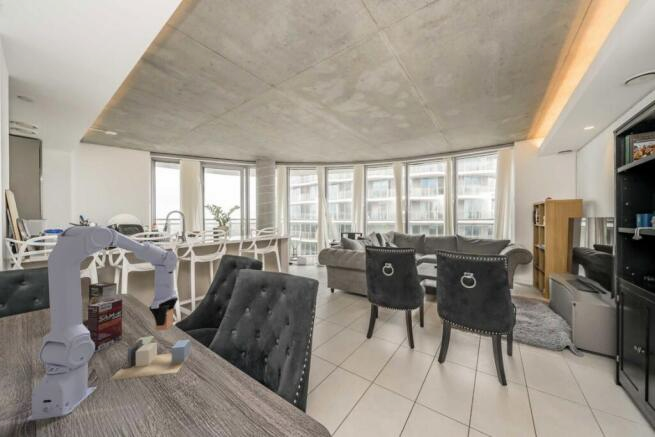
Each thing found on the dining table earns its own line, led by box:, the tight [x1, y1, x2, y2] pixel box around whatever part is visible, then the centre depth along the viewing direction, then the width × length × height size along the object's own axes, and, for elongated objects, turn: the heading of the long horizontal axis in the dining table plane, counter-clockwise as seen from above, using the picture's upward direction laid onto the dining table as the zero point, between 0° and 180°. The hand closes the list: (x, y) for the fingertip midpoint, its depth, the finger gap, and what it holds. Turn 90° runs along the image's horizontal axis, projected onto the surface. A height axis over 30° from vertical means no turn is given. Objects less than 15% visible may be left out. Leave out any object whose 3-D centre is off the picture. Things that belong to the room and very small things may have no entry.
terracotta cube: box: [154, 309, 174, 331], centre depth 89 cm, size 5×4×6 cm
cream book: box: [136, 342, 158, 366], centre depth 78 cm, size 5×4×4 cm
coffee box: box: [88, 281, 118, 306], centre depth 116 cm, size 9×6×16 cm
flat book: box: [136, 335, 155, 346], centre depth 91 cm, size 6×4×2 cm
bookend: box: [121, 339, 142, 369], centre depth 78 cm, size 6×2×6 cm, turn 11°
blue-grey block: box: [171, 339, 191, 362], centre depth 80 cm, size 5×4×4 cm
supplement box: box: [87, 298, 123, 354], centre depth 89 cm, size 9×5×16 cm, turn 168°
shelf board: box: [108, 350, 192, 381], centre depth 76 cm, size 12×18×1 cm
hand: (164, 322), depth 88 cm, fingers closed on terracotta cube, 5 cm apart
